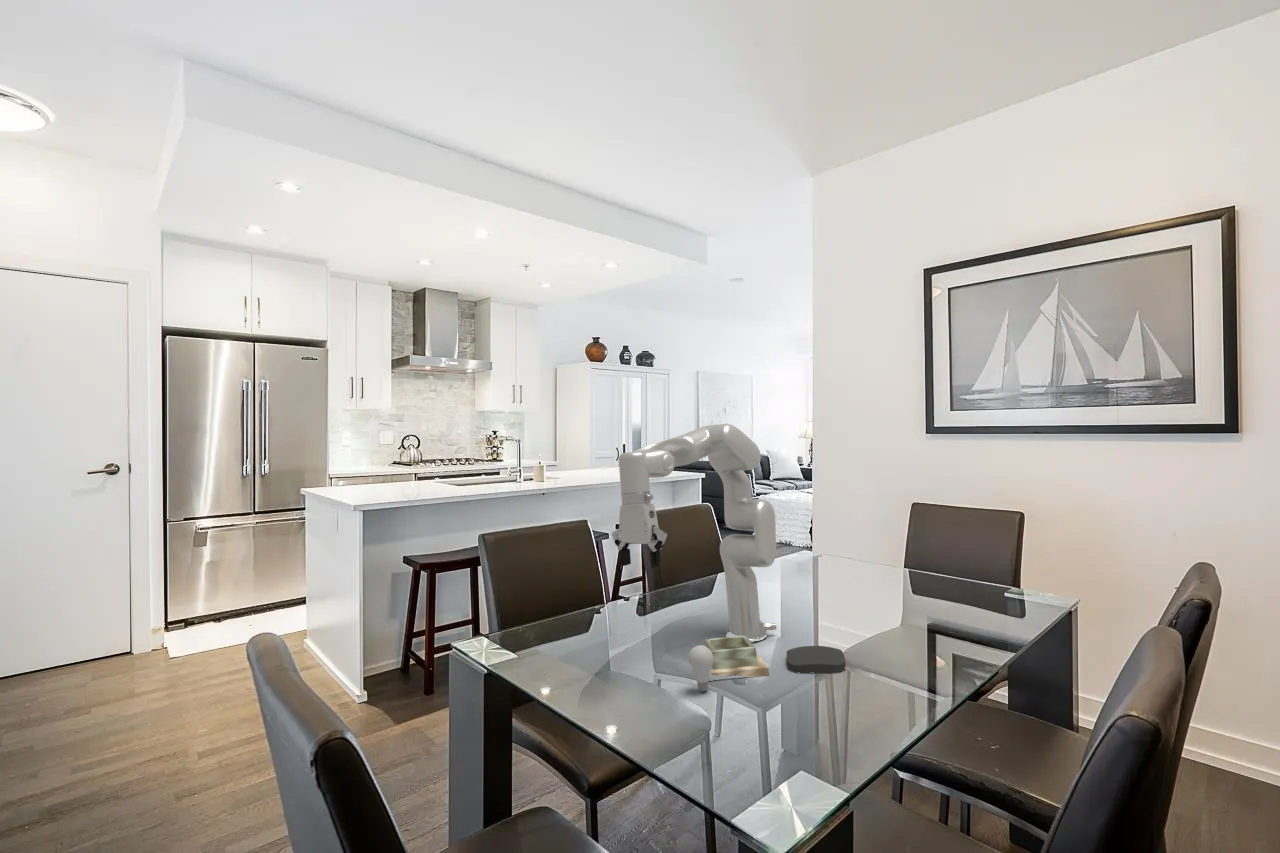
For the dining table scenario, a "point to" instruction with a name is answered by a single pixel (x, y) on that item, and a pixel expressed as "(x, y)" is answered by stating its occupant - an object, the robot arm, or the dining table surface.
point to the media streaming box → (815, 659)
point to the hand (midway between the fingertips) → (640, 565)
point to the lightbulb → (701, 665)
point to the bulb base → (735, 657)
